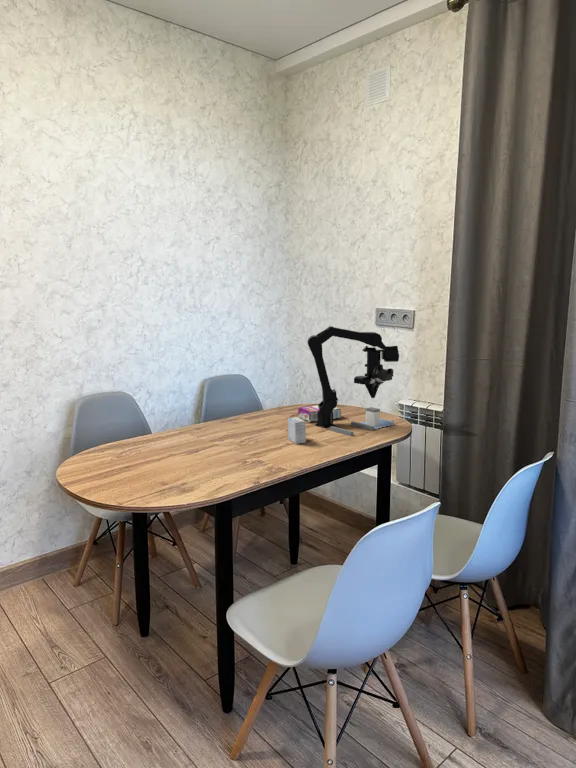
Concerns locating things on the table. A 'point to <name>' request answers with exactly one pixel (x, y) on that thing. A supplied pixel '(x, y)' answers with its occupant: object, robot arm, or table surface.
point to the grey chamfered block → (372, 416)
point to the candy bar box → (315, 413)
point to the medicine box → (296, 430)
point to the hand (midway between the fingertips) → (372, 397)
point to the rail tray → (362, 426)
